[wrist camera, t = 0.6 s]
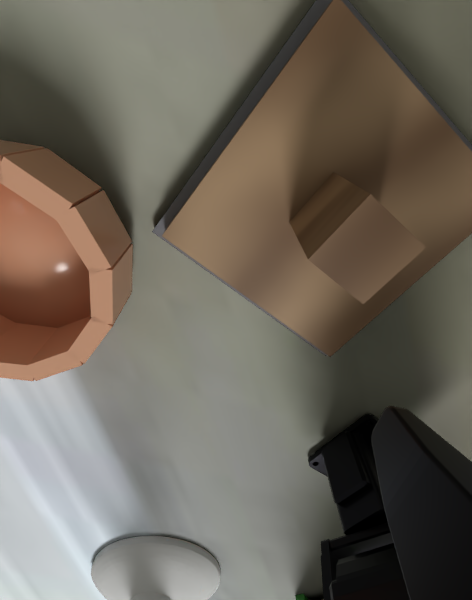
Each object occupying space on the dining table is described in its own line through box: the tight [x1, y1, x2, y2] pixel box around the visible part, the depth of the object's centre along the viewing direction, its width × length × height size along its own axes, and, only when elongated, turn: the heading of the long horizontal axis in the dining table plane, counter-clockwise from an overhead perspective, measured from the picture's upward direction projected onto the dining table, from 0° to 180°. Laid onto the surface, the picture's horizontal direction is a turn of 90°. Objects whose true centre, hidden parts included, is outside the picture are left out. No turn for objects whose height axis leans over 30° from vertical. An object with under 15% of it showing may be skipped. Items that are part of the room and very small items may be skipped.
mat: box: [152, 0, 472, 356], centre depth 18 cm, size 13×13×1 cm
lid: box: [162, 0, 472, 357], centre depth 15 cm, size 12×12×6 cm
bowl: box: [0, 140, 133, 381], centre depth 18 cm, size 11×11×4 cm
